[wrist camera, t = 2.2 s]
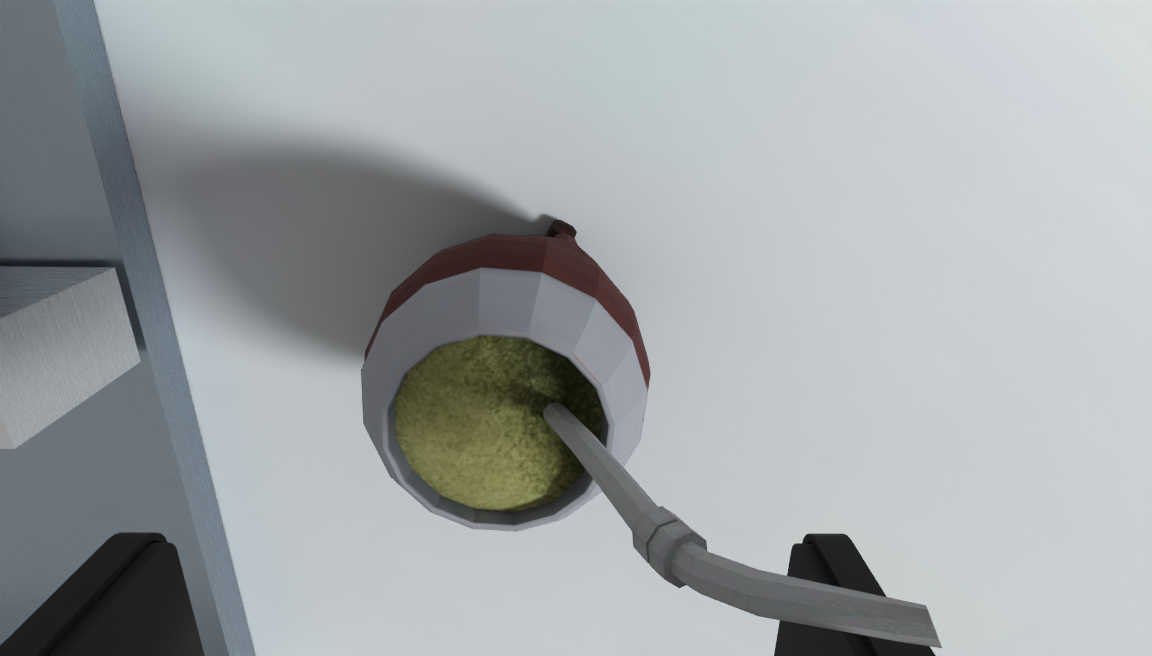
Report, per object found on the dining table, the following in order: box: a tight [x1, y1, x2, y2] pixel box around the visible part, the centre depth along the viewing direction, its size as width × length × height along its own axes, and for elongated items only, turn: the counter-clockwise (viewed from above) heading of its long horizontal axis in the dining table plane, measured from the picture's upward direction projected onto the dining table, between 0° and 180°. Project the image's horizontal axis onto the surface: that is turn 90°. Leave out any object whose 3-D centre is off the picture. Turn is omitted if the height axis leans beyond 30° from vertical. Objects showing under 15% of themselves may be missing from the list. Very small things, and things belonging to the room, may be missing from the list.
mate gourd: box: [361, 220, 942, 648], centre depth 14 cm, size 8×8×15 cm
